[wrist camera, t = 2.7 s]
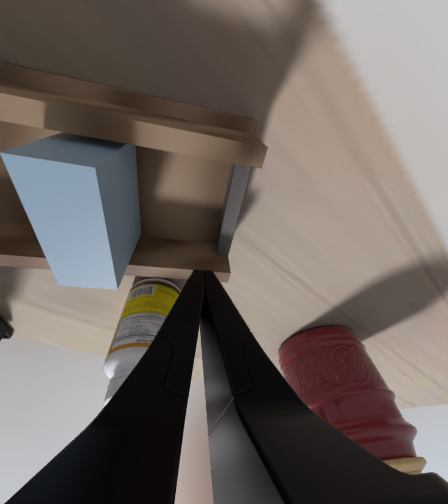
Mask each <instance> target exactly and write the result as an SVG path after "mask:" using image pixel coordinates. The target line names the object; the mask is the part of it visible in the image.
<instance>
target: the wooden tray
mask: <svg viewBox="0 0 448 504" xmlns="http://www.w3.org/2000/svg"><path fill="white" fill-rule="evenodd" d="M256 123H257V121H256V120H254V119H250V118H246V117H241V116H237V115H233V114H228V113H224V112H219V111H215V110H211V109H206V108H202V107H197V106H193V105H189V104H184V103H180V102H175V101H171V100H167V99H162V98H158V97H154V96H149V95H145V94H140V93H136V92H132V91H127V90H123V89H118V88H114V87H110V86H105V85H101V84H96V83H92V82H88V81H83V80H79V79H74V78H70V77H66V76H61V75H57V74H52V73H48V72H44V71H39V70H35V69H31V68H26V67H22V66H17V65H13V64H9V63H4V62H0V152H3V151H6V150H9V149H12V148H15V147H18V146H21V145H24V144H27V143H31V142H34V141H37V140H40V139H43V138H46V137H49V136H52V135H55V134H58V133H61V132H65V133H71V134H76V135H81V136H87V137H92V138H98V139H103V140H109V141H114V142H120V143H125V144H131V145H135V146H136V162H137V177H138V193H139V208H140V223H141V235H140V237H139V239H138V242H137V244H136V247H135V249H134V251H133V254H132V256H131V259H130V261H129V263H128V266H127V268H126V271H125V273H124V275H132V276H146V277H160V278H173V279H187V280H188V279H189V277H190V275H191V274H192V272H193V270H194V269H201V270H203V271H204V270H212V271H213V272H214V273H215V275H216V276H217V278H218V280H219V281H220V282H228V280H229V277H230V274H231V272H230V266H229V259H228V254H229V250H230V246H231V243H232V239H233V235H234V231H235V228H236V224H237V220H238V216H239V213H240V209H241V205H242V201H243V197H244V194H245V190H246V186H247V182H248V179H249V175H250V171H251V167H256V168H262V165H263V162H264V159H265V155H266V152H267V148H268V147H267V146H266V145H265V144H263V143H262V142H261V141H260V140H259V139H258V138H257V137H256V136H255V135H254V131H255V127H256ZM0 266H8V267H22V268H36V269H49V270H51V268H50V266H49V263H48V261H47V259H46V257H45V254H44V252H43V250H42V247H41V245H40V243H39V241H38V238H37V236H36V234H35V232H34V229H33V227H32V225H31V223H30V220H29V218H28V216H27V213H26V211H25V209H24V207H23V204H22V202H21V200H20V198H19V195H18V193H17V191H16V189H15V186H14V184H13V182H12V180H11V177H10V175H9V173H8V170H7V168H6V166H5V164H4V161H3V159H2V157H1V155H0Z"/></svg>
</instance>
